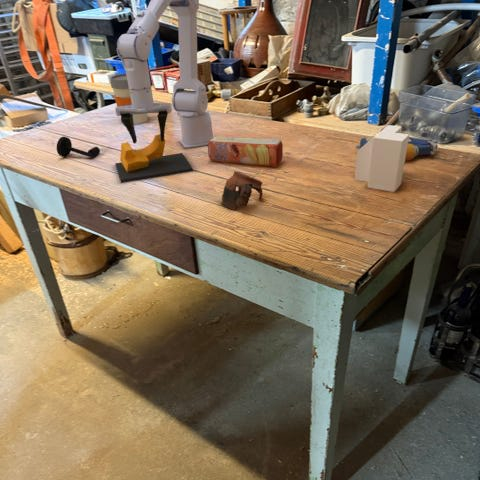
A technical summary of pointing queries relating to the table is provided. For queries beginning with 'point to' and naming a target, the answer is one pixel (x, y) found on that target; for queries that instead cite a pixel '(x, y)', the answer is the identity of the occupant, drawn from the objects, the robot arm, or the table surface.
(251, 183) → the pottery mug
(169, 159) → the mat
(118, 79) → the reusable coffee cup
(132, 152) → the pipe clamp
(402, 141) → the corner bracket
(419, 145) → the spray gun
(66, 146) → the light fixture
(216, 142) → the snack package
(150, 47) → the robot arm
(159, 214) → the table surface
